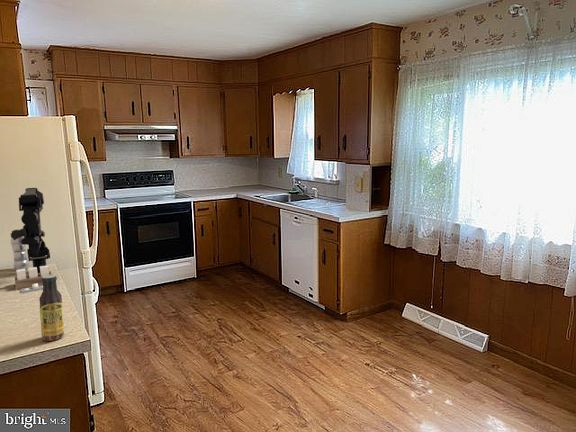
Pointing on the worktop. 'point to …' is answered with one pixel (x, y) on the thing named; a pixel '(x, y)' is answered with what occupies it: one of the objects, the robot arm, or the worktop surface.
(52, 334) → the sauce bottle
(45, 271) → the button
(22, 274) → the button
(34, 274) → the button middle
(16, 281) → the board
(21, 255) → the plastic bottle
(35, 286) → the card
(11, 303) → the worktop surface
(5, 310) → the worktop surface
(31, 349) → the worktop surface
